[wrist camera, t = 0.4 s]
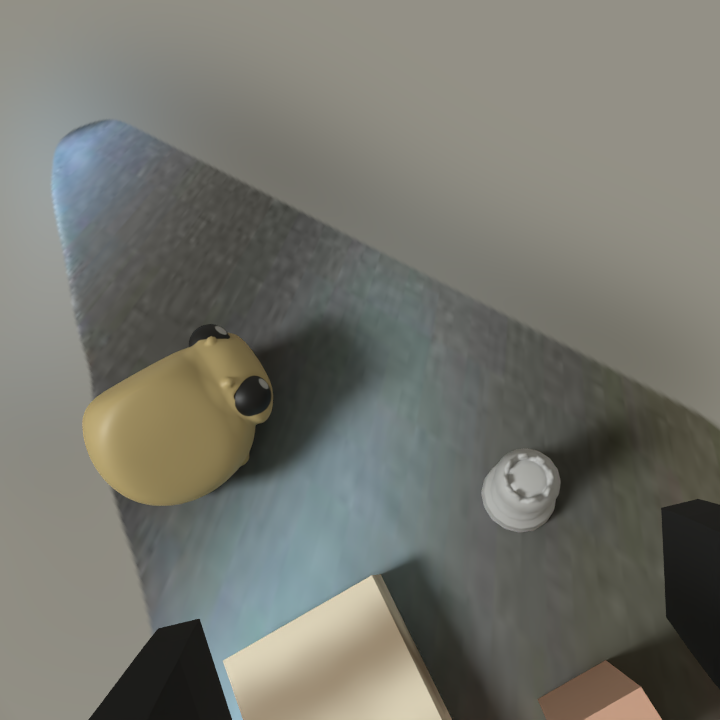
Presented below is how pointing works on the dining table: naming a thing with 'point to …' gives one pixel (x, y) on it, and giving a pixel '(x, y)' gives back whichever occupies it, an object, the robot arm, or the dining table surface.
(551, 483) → the rook chess piece
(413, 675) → the rail
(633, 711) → the square peg
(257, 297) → the dining table surface
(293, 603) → the dining table surface
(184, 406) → the yellow toy creature
